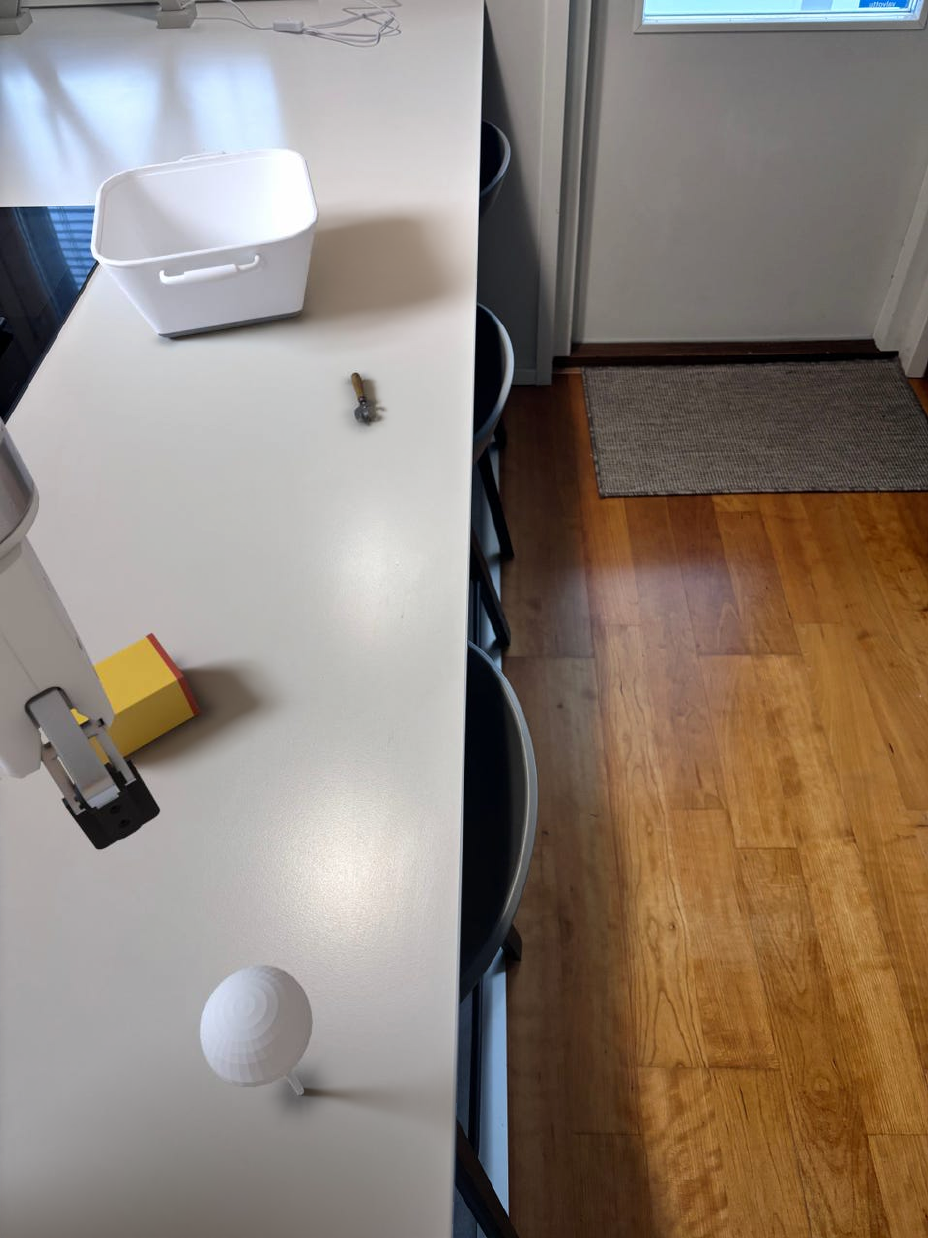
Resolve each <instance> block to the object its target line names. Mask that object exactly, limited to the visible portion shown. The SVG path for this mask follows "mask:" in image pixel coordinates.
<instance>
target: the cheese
mask: <svg viewBox="0 0 928 1238" xmlns="http://www.w3.org/2000/svg"><path fill="white" fill-rule="evenodd" d="M93 666H94V668H95V670H96V673H97V675H98V677H99V679H100V681H101V684H102V686H103V688H104V690H105V692H106V694H107V697H108V699H109V701H110V703H111V706H112V708H113V710H114V713H115V715H114V720H113V723H112V725H111V727H110V729H108V728H107V727H106V725H105V726H104V728H105V729H106V731H107V732H108V734H109V736H110V737H111V739H112V741H113V742H114V744H115V746H116V747H117V749H118V751H119V752H120V754H121V755H122V757H123V758H125V757H126V756H129V755H131V754H132V753H134V752H135V751H137V750H139V749H141V748H142V747H144V746H146V745H147V744H150V743H151V742H153V741H154V740H156V739H157V738H159V737H161V736H162V735H164V734H166V733H167V732H169V731H171V730H172V729H174V728H176V727H178V726H179V725H181V724H183V723H185V722H186V721H189V720H190V719H191V718H194V717H197V716H198V715H200V714H201V710H200V708H199V706H198V703H197V701H196V699H195V697H194V695H193V693H192V691H191V688H190V686H189V684H188V682H187V679H186V677H185V675H184V674H183V673H182V672H181V670H180V669H179V667H178V666H177V664H176V663H175V662H174V661H173V659H172V658H171V656H170V655H169V654H168V653H167V651H166V649H165V648H164V647H163V645H162V644H161V643H160V642H159V639H157V637H156V636H155V635H154V633H152V632H151V633H148V634H147V635H145V637H144V638H141V639H140V640H138V641H136V642H134V643H132V644H130V645H128V646H126V647H124V648H123V649H121V650H119V651H117V652H116V653H114V654H111V655H110V656H108V657H107V658H105V659H103V660H101V661H99V662H97V663H96V664H93ZM71 712H72V714H73V715H74V717H75V719H76V720H77V722H78V724H79V725H80V724H82V723H83V722H85V721H87V720H89V719H88V718H87V717H85V716H83V715H81V714H79V713H78V712H77V711H76V709H71ZM88 740H89V742H90V743H91V745H92V747H93V748H94V750H95V751H96V753H97V755H98V756H99V758H100V760H101V761H102V763H103V764H106V763H108V762H110V760H109V759H108V757H107V755H106V754H105V752H104V751H103V749H102V747H101V746H100V744H99V742H98V741H97V739H96V737H95V736H94V737H92V738H90V739H88ZM110 764H111V762H110ZM111 765H112V764H111Z"/></svg>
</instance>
